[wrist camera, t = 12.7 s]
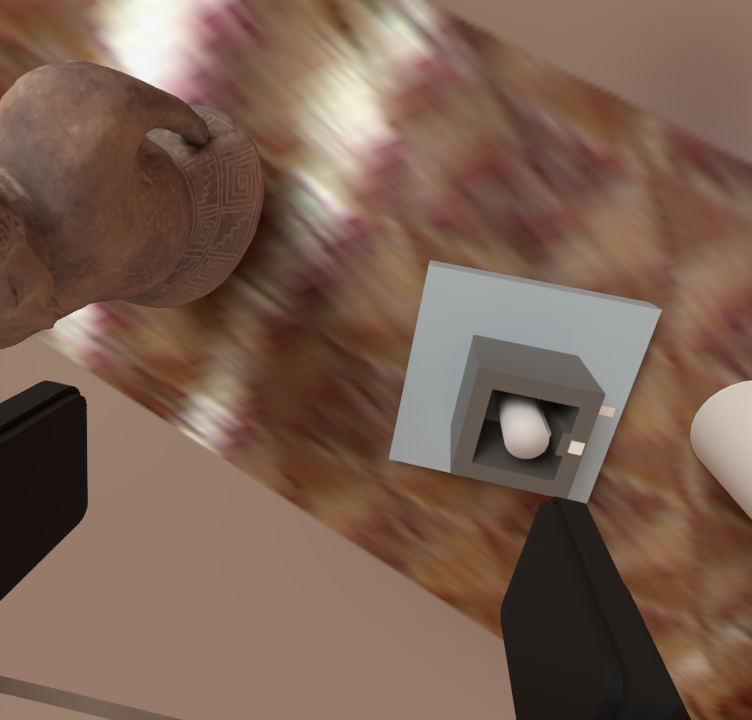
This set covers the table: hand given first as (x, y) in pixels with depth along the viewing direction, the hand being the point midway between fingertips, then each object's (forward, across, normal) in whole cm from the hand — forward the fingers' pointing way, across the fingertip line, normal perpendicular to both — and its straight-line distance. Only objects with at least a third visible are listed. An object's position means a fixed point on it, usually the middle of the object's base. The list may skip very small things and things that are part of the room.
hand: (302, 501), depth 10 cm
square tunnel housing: (+22, -9, +5) cm, 25 cm away
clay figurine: (+26, +13, -2) cm, 29 cm away
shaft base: (+24, -10, +5) cm, 27 cm away
